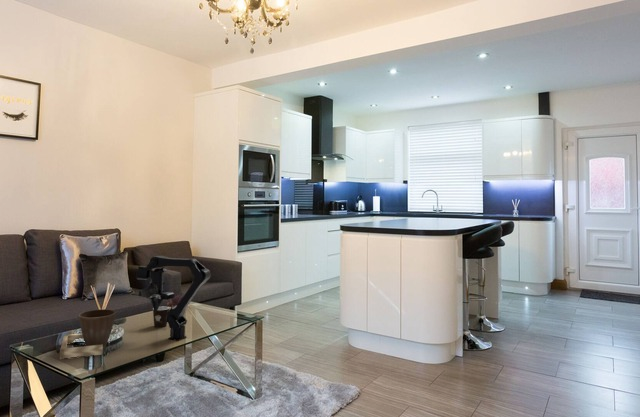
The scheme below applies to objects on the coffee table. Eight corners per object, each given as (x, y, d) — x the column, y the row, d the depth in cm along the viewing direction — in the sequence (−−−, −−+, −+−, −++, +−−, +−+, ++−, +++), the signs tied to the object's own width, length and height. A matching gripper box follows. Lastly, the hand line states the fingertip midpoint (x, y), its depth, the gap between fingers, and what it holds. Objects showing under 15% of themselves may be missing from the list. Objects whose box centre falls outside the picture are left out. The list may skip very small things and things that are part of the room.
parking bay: (102, 339, 198) (102, 331, 198) (102, 354, 179) (102, 345, 179) (64, 343, 190) (64, 335, 191) (59, 359, 171) (60, 350, 171)
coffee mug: (148, 326, 222) (149, 308, 222) (161, 323, 230) (162, 305, 230) (163, 330, 217) (164, 311, 217) (175, 326, 224) (176, 308, 224)
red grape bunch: (183, 306, 270) (184, 291, 270) (194, 308, 266) (195, 293, 266) (162, 312, 254) (163, 296, 254) (174, 314, 250) (175, 298, 250)
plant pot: (92, 355, 177) (94, 319, 177) (69, 349, 183) (71, 314, 183) (121, 345, 191) (122, 311, 191) (99, 340, 197) (100, 307, 197)
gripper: (130, 280, 202) (129, 312, 202) (159, 284, 195) (158, 317, 195) (147, 277, 212) (146, 307, 212) (175, 281, 206) (174, 312, 205)
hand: (155, 311), depth 206 cm, fingers closed
